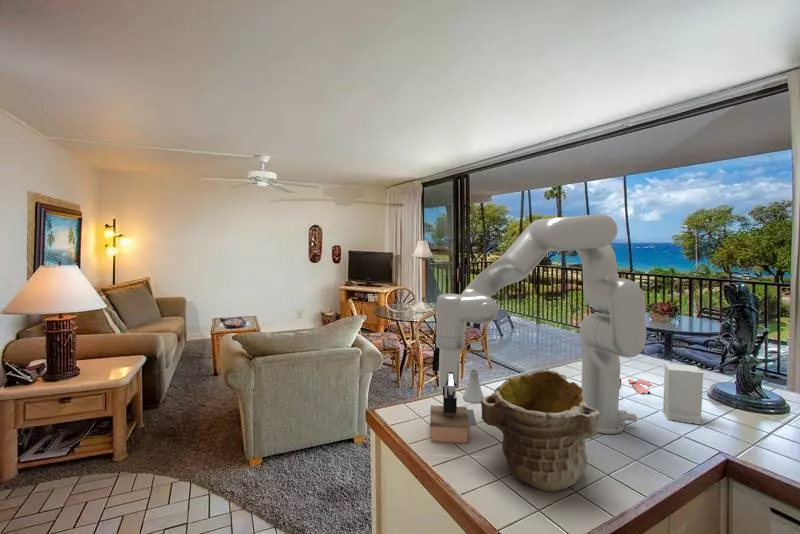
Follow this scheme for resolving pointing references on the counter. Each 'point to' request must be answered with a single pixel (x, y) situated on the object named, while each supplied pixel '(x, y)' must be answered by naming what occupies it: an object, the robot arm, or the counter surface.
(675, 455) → the counter surface
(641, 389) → the cloth
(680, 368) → the skincare box
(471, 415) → the mat
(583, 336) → the robot arm
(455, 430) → the open square container
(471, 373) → the flask
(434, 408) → the lid
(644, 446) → the counter surface
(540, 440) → the ceramic vessel
